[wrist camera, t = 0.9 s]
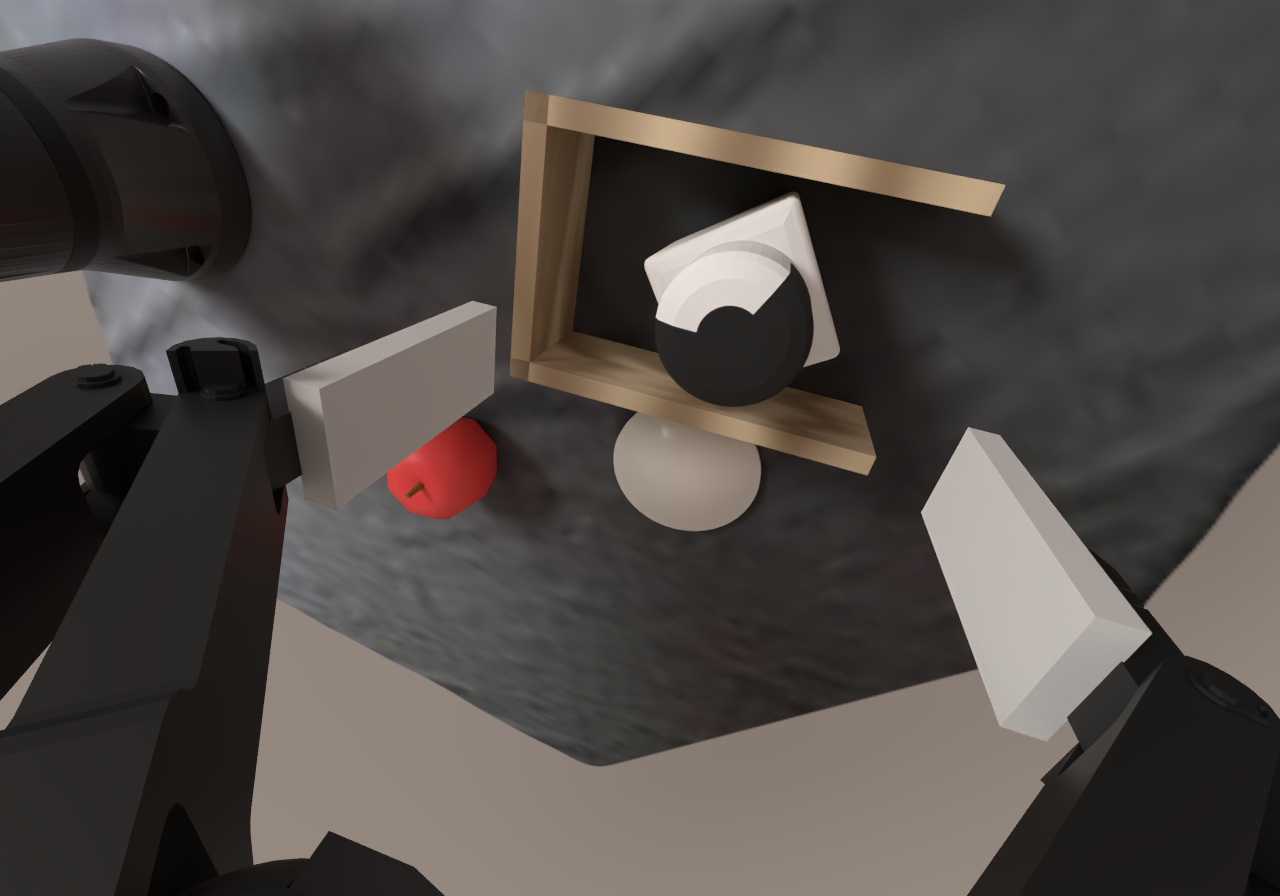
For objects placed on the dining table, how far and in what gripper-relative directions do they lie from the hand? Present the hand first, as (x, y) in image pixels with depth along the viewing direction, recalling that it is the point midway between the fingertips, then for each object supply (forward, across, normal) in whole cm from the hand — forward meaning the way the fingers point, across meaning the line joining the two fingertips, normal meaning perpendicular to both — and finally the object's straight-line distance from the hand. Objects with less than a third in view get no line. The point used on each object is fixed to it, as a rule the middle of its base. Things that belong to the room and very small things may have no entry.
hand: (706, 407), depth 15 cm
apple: (+21, -19, -18) cm, 33 cm away
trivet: (+20, -1, -14) cm, 25 cm away
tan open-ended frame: (+20, -1, 0) cm, 20 cm away
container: (+21, 0, 0) cm, 21 cm away
